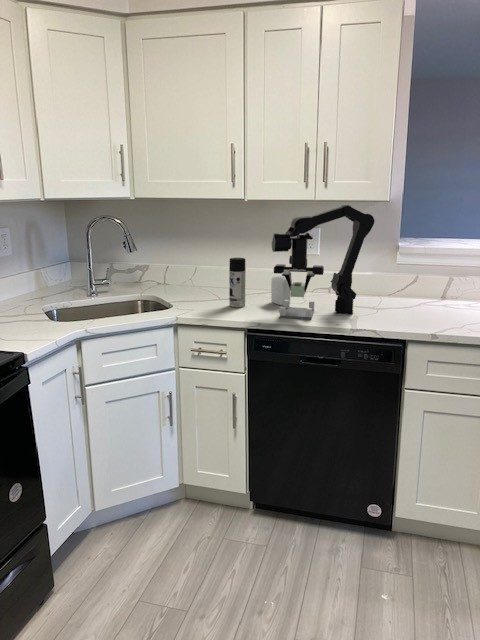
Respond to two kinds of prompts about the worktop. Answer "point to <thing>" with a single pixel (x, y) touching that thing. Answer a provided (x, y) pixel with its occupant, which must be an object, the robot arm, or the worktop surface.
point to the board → (297, 289)
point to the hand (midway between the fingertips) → (298, 291)
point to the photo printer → (279, 290)
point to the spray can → (237, 282)
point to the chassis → (296, 311)
